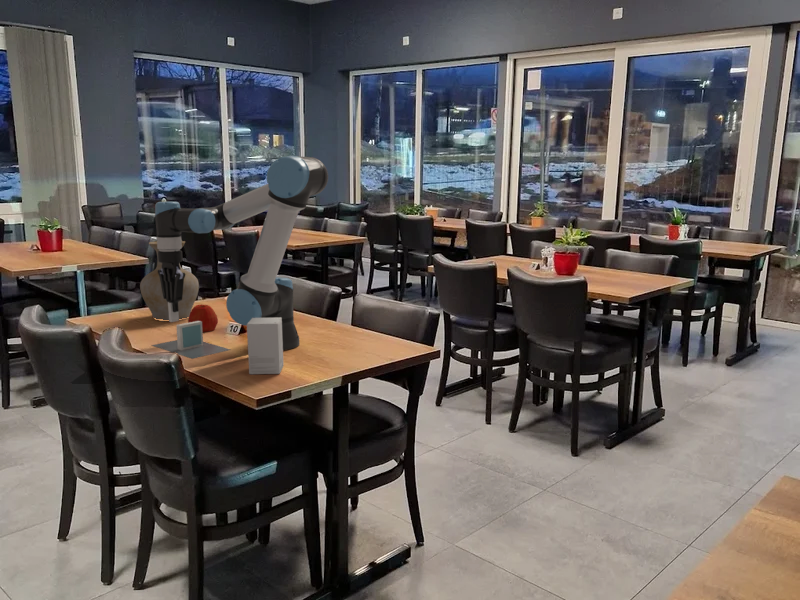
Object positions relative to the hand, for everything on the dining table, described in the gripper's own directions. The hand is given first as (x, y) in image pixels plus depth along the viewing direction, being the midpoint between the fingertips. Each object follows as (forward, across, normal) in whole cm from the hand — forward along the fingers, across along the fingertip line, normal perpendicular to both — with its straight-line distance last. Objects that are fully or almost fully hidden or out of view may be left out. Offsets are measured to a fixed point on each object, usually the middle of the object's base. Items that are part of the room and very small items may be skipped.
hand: (174, 321), depth 219 cm
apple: (+9, +10, -17) cm, 22 cm away
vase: (+9, +41, -23) cm, 48 cm away
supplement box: (+9, -44, -3) cm, 45 cm away
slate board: (+9, -9, 0) cm, 12 cm away
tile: (+7, -9, 0) cm, 12 cm away
